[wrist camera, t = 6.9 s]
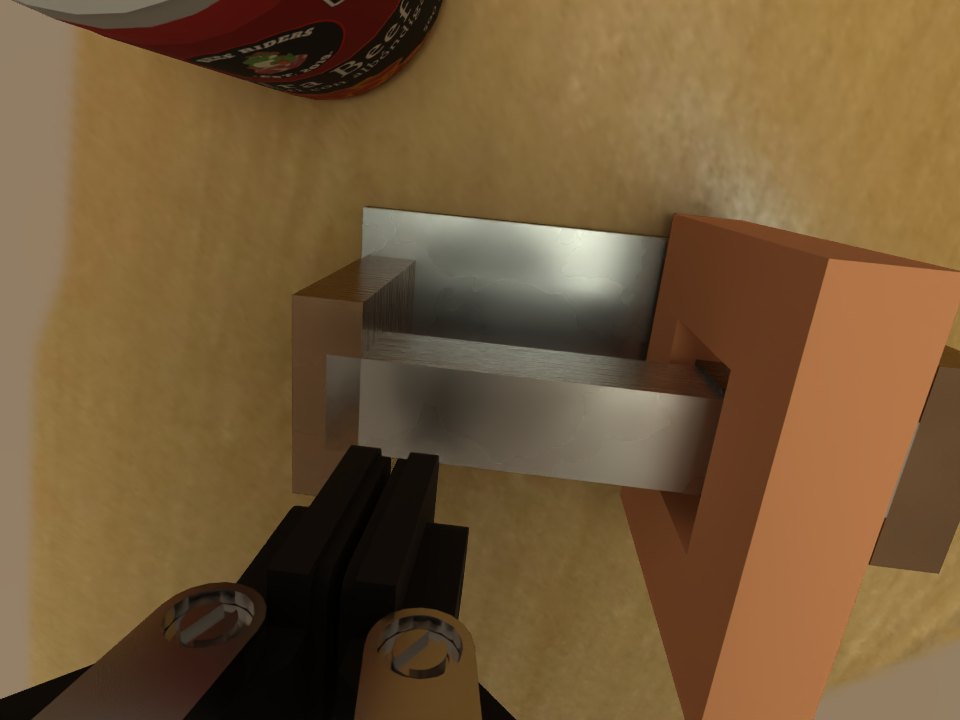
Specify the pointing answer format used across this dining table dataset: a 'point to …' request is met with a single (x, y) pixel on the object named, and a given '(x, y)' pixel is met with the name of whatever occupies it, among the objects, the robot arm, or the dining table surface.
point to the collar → (782, 453)
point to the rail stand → (545, 369)
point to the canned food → (267, 37)
